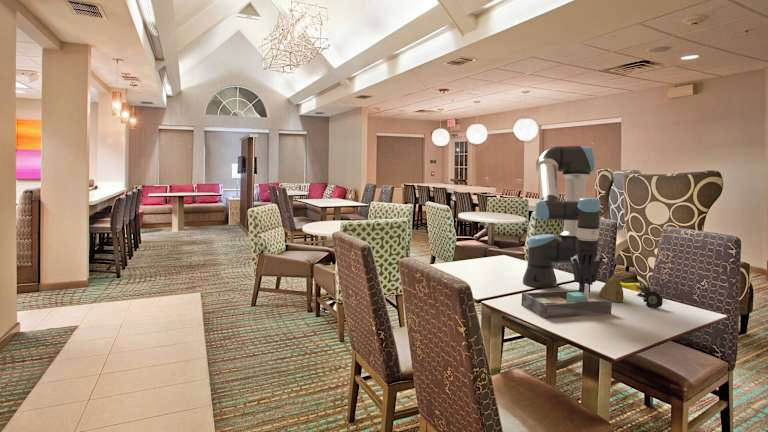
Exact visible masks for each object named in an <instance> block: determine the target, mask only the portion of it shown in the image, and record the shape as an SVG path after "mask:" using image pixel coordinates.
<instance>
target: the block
mask: <svg viewBox="0 0 768 432" xmlns="http://www.w3.org/2000/svg"><path fill="white" fill-rule="evenodd" d="M572 302H587V295H585V294H582V293H580V292H569V293H567V298H566V303H572Z"/></svg>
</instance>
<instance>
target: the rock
mask: <svg viewBox="0 0 768 432" xmlns="http://www.w3.org/2000/svg"><path fill="white" fill-rule="evenodd" d="M598 295H599V296H598V297H601V298H603V299H605V298H606V299H605V300H609V299H610V300H611V301H612V300H613V301H614V302H617V303H624V299H625V296H624V289H623V286H622V283H621V281H620V278H619V277H618V276H616V275H615V274H612V275H611V276H610V277H609V279H607V280H606V282H605V284H604V285H603V286H602V288H601V289H600V291H599V293H598ZM613 301H612V302H613Z"/></svg>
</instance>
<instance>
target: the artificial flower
mask: <svg viewBox="0 0 768 432" xmlns="http://www.w3.org/2000/svg"><path fill="white" fill-rule="evenodd" d="M644 281H645V284H644V283H643V282H641V286H640V285H637V284H636V283H633V286H634V287H635V289H636V290H638V291H639V293H636V296H637V295H641V294H644V295H643V298H642V300H643V303H645V306H646V307H647V308H648V307H650V308H651V307H652V309H657V308H661V307H662V306H663V297H662V295H660V294H659V293H658V292H656V291H652V290H653V289H655V288H656V287H655V286H653V287H651V288H650V283H649V280H648V279H645V280H644ZM640 291H641V292H640ZM640 293H641V294H640Z"/></svg>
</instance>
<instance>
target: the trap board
mask: <svg viewBox="0 0 768 432" xmlns="http://www.w3.org/2000/svg"><path fill="white" fill-rule="evenodd" d="M569 292H579V289H573V290H572V289H571V290H556V291H555V290H554V291H536V292H535V291H533V292H521V303H520V305H521V307H524V308H525V309H527V310H528V311H530V312H532V313H534V314H535V315H538V316H539V317H541V318H543V319H557V318H558V319H559V318H569V317H570V318H571V317H584V316H599V315H600V316H601V315H611V314H612V305H613V301H612V300H609V299H605V300H598V299H595V298H594V297H591V296H589V295H588V302H572V303H566V298H567V293H569Z"/></svg>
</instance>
